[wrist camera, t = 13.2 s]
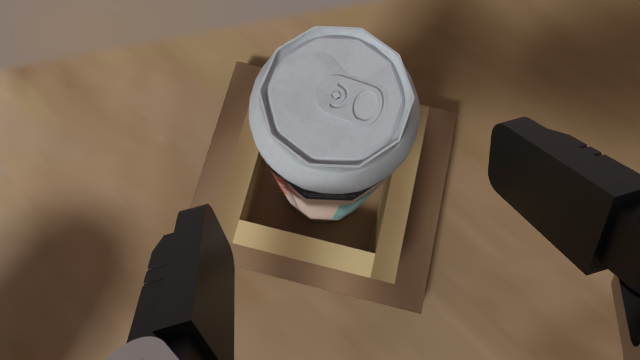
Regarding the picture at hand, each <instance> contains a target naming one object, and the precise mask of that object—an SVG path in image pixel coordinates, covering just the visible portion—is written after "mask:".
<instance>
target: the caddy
mask: <svg viewBox="0 0 640 360" xmlns="http://www.w3.org/2000/svg"><path fill="white" fill-rule="evenodd" d="M261 69H262V67H259V66H254V65H250V64H246V63H241V62H236V66H235V69H234V72H233V75H232V78H231V81H230V84H229V88H228V91H227V94H226V97H225V100H224V103H223V107H222V110H221V113H220V116H219V119H218V122H217V125H216V129H215V132H214V135H213V138H212V141H211V144H210V147H209V151H208V154H207V157H206V160H205V163H204V166H203V169H202V173H201V176H200V179H199V182H198V185H197V188H196V191H195V195H194V198H193V201H192V204H191V207H190V208H194V207H197V206H201V205H204V204H209V205H210V206H211V207H212V209H213V211H214V213H215V215H216V217H217V219H218V221H219V223H220V225H221V227H222V229H223V232H224V234H225V236H226V238H227V240H228V242H229V244H230V247H231V250H232V253H233V258H234V266H235V267H239V268H243V269H247V270H251V271H255V272H259V273H263V274H267V275H271V276H274V277H278V278H282V279H286V280H290V281H294V282H298V283H302V284H306V285H310V286H314V287H318V288H321V289H325V290H329V291H333V292H337V293H341V294H345V295H349V296H353V297H357V298H361V299H365V300H368V301H372V302H376V303H380V304H384V305H388V306H392V307H396V308H400V309H404V310H408V311H412V312H415V313H419V314H421V311H422V306H423V300H424V295H425V289H426V284H427V278H428V273H429V267H430V262H431V256H432V251H433V245H434V240H435V234H436V229H437V223H438V218H439V212H440V206H441V201H442V195H443V190H444V184H445V179H446V173H447V168H448V162H449V157H450V151H451V146H452V140H453V135H454V129H455V124H456V118H457V112H453V111H449V110H444V109H440V108H436V107H431V106H427V105H423V104H419V107H420V122H419V127H418V131H417V136H416V139H415V141H414V143H413V145H412V148H411V150H410V152H409V154H408V156H407V157H406V159H405V160H404V162H403V163H402V164H401V165H400V166H399V167H398V168H397V169H396V170H395V171H394V172H393V173H392V174H391V175H390V176H389V177H388V178H387V179H386V180H385V181H384V182H383V183H382V184H381V185H380V186H379V187H378V188H377V189H376V190H375V191H374V192H373V193H372V194H371V195H370V196H369V197H368V198H367V199H366V200H365V201H364V202H363V203H362V204H361V205H360V206H359V207H358V208H357V209H356V210H355V211H354V212H353V213H352V214H351V215H349V216H347V217H346V218H344V219H342V220H339V221H335V222H328V223H326V222H317V221H313V220H310V219H308V218H306V217H304V216H303V215H301V214H300V213H299V212H297V211H296V210H295V208H294V207H293V206H292V205H291V204H290V202H289V201H288V199H287V197H286V196H285V194H284V192H283V191H282V189H281V187H280V186H279V184H278V182H277V181H276V179H275V177H274V176H273V174H272V172H271V171H270V169H269V167H268V166H267V164H266V162H265V161H264V159H263V157H262V156H261V154H260V152H259V150H258V148H257V146H256V144H255V141H254V138H253V134H252V131H251V128H250V124H249V103H250V96H251V93H252V89H253V86H254V83H255V80H256V78H257V76H258V74H259V73H260V71H261Z"/></svg>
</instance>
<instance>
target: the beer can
mask: <svg viewBox="0 0 640 360" xmlns="http://www.w3.org/2000/svg"><path fill="white" fill-rule="evenodd" d="M419 122H420V107H419V99H418V95H417V92H416V89H415V87H414V84H413V81H412V78H411V76H410V74H409V73H408V71H407V69H406V68H405V66H404V65H403V62H402V59H401V57H400V54H398V53H397V52H396V51H394V50H393V49H391V48H390V47H388V46H387V45H386V44H384V43H383V42H381V41H380V40H379V39H377V38H376V37H374V36H373V35H371V34H370V33H369V32H367V31H366V30H364V29H363V28H354V27H330V26H314V27H312V28H311V29H309V30H307V31H306V32H304V33H302V34H301V35H299V36H297V37H296V38H294V39H292V40H291V41H289V42H287V43H285V44H284V45H282V46H280V47H279V48H277V49H276V50H275V52H274V54H273V55H272V56H271V57H270V58H269V60H268V61H267V62H266V63H265V65H264V66H263V67H262V69H261V71H260V73H259V74H258V76H257V78H256V80H255V83H254V86H253V89H252V93H251V96H250V103H249V124H250V128H251V131H252V134H253V138H254V141H255V144H256V146H257V148H258V150H259V152H260V154H261V156H262V157H263V159H264V161H265V162H266V164H267V166H268V167H269V169H270V171H271V172H272V174H273V176H274V177H275V179H276V181H277V182H278V184H279V186H280V187H281V189H282V191H283V192H284V194H285V196H286V197H287V199H288V201H289V202H290V204H291V205H292V206H293V207H294V208H295V210H296V211H297V212H299V213H300V214H301V215H303V216H304V217H306V218H308V219H310V220H313V221H317V222H326V223H328V222H335V221H339V220H342V219H344V218H346V217H347V216H349V215H351V214H352V213H353V212H354V211H355V210H356V209H357V208H358V207H359V206H360V205H361V204H362V203H363V202H364V201H365V200H366V199H367V198H368V197H369V196H370V195H371V194H372V193H373V192H374V191H375V190H376V189H377V188H378V187H379V186H380V185H381V184H382V183H383V182H384V181H385V180H386V179H387V178H388V177H389V176H390V175H391V174H392V173H393V172H394V171H395V170H396V169H397V168H398V167H399V166H400V165H401V164H402V163H403V162H404V160H405V159H406V157H407V156H408V154H409V152H410V150H411V148H412V145H413V143H414V141H415V139H416V136H417V131H418V127H419Z"/></svg>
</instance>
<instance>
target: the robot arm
mask: <svg viewBox="0 0 640 360" xmlns="http://www.w3.org/2000/svg"><path fill="white" fill-rule="evenodd" d="M488 176H489V180H490V183H491V185H492V187H493V188H494V190H495V191H496V192H497V193H498V194H499V195H500V196H501V197H502V198H503V199H504V200H506V201H507V202H508V203H509V204H510V205H511V206H512V207H513V208H514V209H515V210H516V211H517V212H518V213H520V214H521V215H522V216H523V217H524V218H525V219H526V220H527V221H528V222H529V223H530V224H531V225H532V226H534V227H535V228H536V229H537V230H538V231H539V232H540V233H541V234H542V235H543V236H544V237H545V238H546V239H548V240H549V241H550V242H551V243H552V244H553V245H554V246H555V247H556V248H557V249H558V250H559V251H561V252H562V253H563V254H564V255H565V256H566V257H567V258H568V259H569V260H570V261H571V262H572V263H573V264H575V265H576V266H577V267H578V268H579V269H580V270H581V271H582V272H583V273H584V274H585V275H589V274H593V273H596V272H599V271H602V270H606V269H609V270H610V271H611V272H612V273H614V276H613V279H612V282H611V287H612V293H613V299H614V304H615V310H616V316H617V321H618V327H619V333H620V338H621V344H622V350H623V360H640V174H639V173H637V172H635V171H634V170H632V169H630V168H628V167H626V166H625V165H623V164H621V163H619V162H617V161H615V160H614V159H612V158H610V157H608V156H606V155H602V154H601V152H599V151H597V150H596V149H594V148H592V147H587V144H585V143H583V142H581V141H579V140H578V139H576V138H574V137H572V136H570V135H568V134H564V133H561V132H557V131H554V130H550V129H547V128H545V127H543V126H542V125H540V124H538V123H536V122H535V121H533V120H531V119H529V118H527V117H521V118H518V119H514V120H510V121H507V122H503V123H500V124H497V125H495V126H494V128H493V130H492V135H491V145H490V156H489V166H488ZM106 360H234V258H233V253H232V250H231V247H230V244H229V242H228V240H227V238H226V236H225V234H224V232H223V229H222V227H221V225H220V223H219V221H218V219H217V217H216V215H215V213H214V211H213V209H212V207H211V206H210V205H209V204H204V205H201V206H197V207H194V208H190V209H186V210H183V211H180V212H179V213H178V217H177V221H176V226H175V230H174V233H171V234H167V235H164V236H163V238H162V239H161V240H160V242H159V243H158V244H157V246H156V247H155V249H154V250H153V251H152V254H151V258H150V261H149V265H148V272H146V276H145V279H144V286H142V290H141V294H140V297H139V301H138V304H137V308H136V311H135V315H134V319H133V322H132V326H131V329H130V333H129V336H128V340H127V343H126V344H125V345H123V346H121V347H120V348H119V349H117V350H116V351H115V352H114V353H112V354H111V355H110V356H109V357H108V358H107V359H106Z"/></svg>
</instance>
